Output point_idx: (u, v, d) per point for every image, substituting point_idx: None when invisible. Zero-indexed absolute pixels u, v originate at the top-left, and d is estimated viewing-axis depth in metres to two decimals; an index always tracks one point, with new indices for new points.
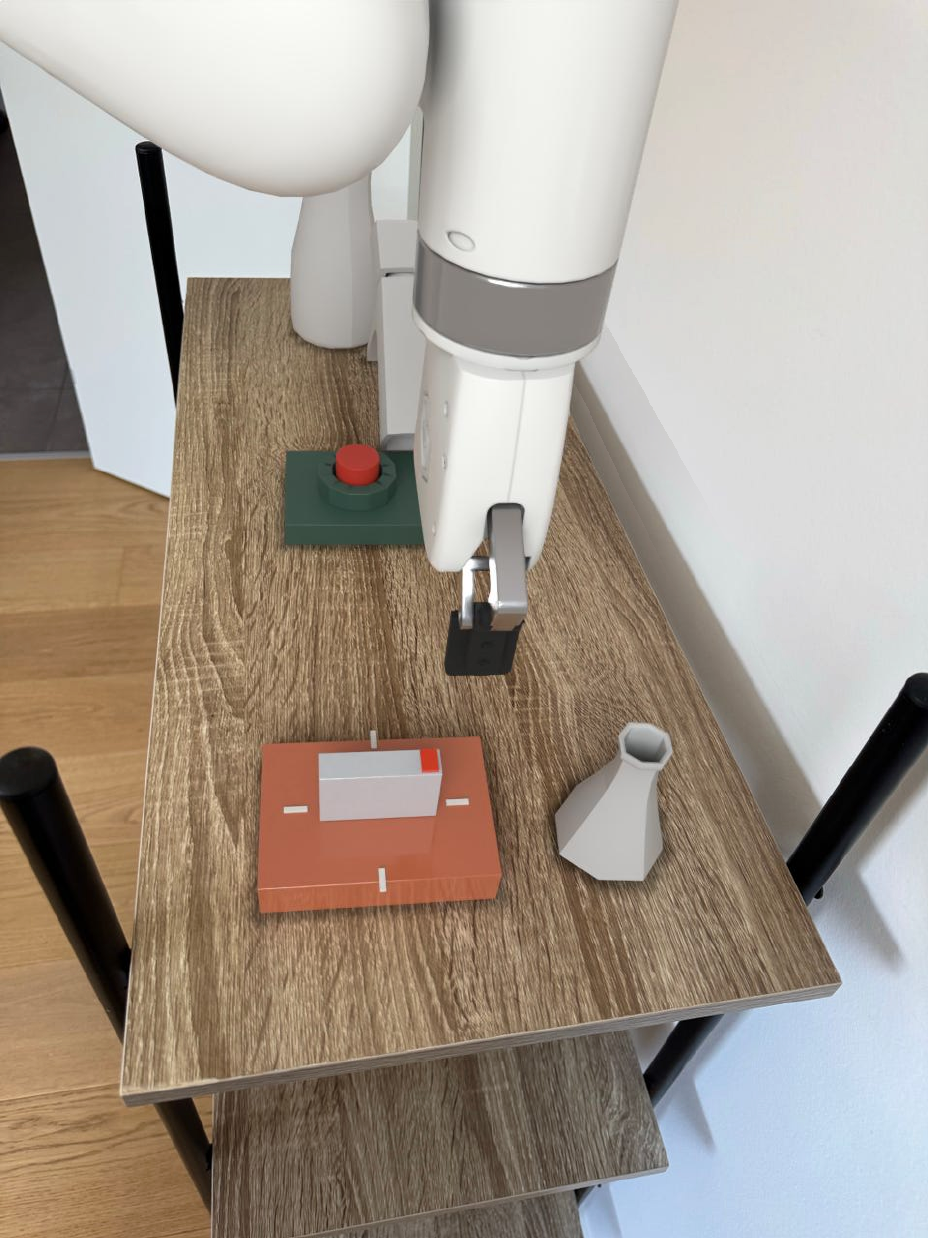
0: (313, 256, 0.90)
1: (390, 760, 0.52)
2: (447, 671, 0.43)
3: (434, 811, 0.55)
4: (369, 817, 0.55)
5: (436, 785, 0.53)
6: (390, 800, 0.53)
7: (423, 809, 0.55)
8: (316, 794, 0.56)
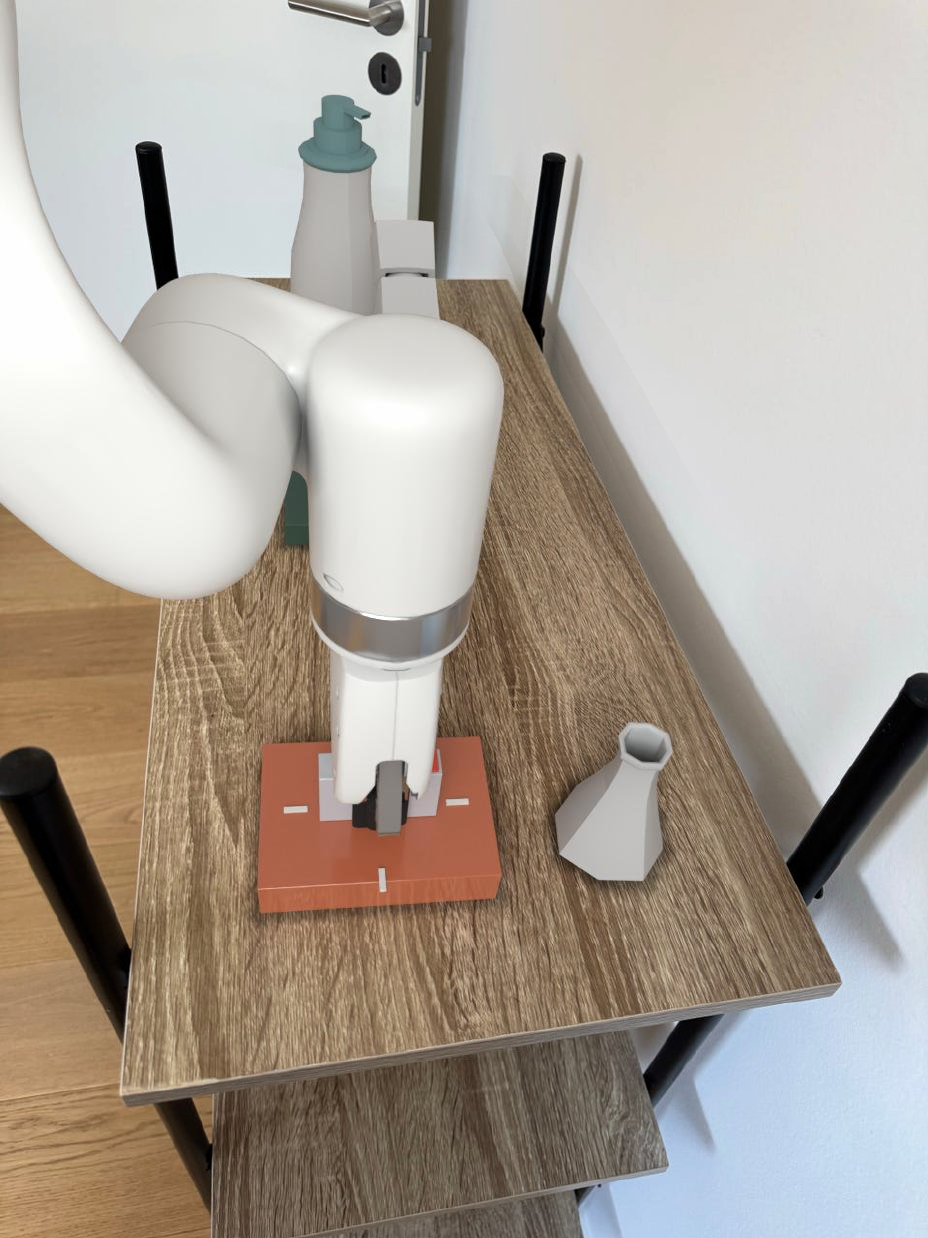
0: (313, 256, 0.90)
1: None
2: (354, 825, 0.54)
3: (434, 811, 0.55)
4: None
5: (436, 785, 0.53)
6: None
7: (423, 809, 0.55)
8: (316, 794, 0.56)
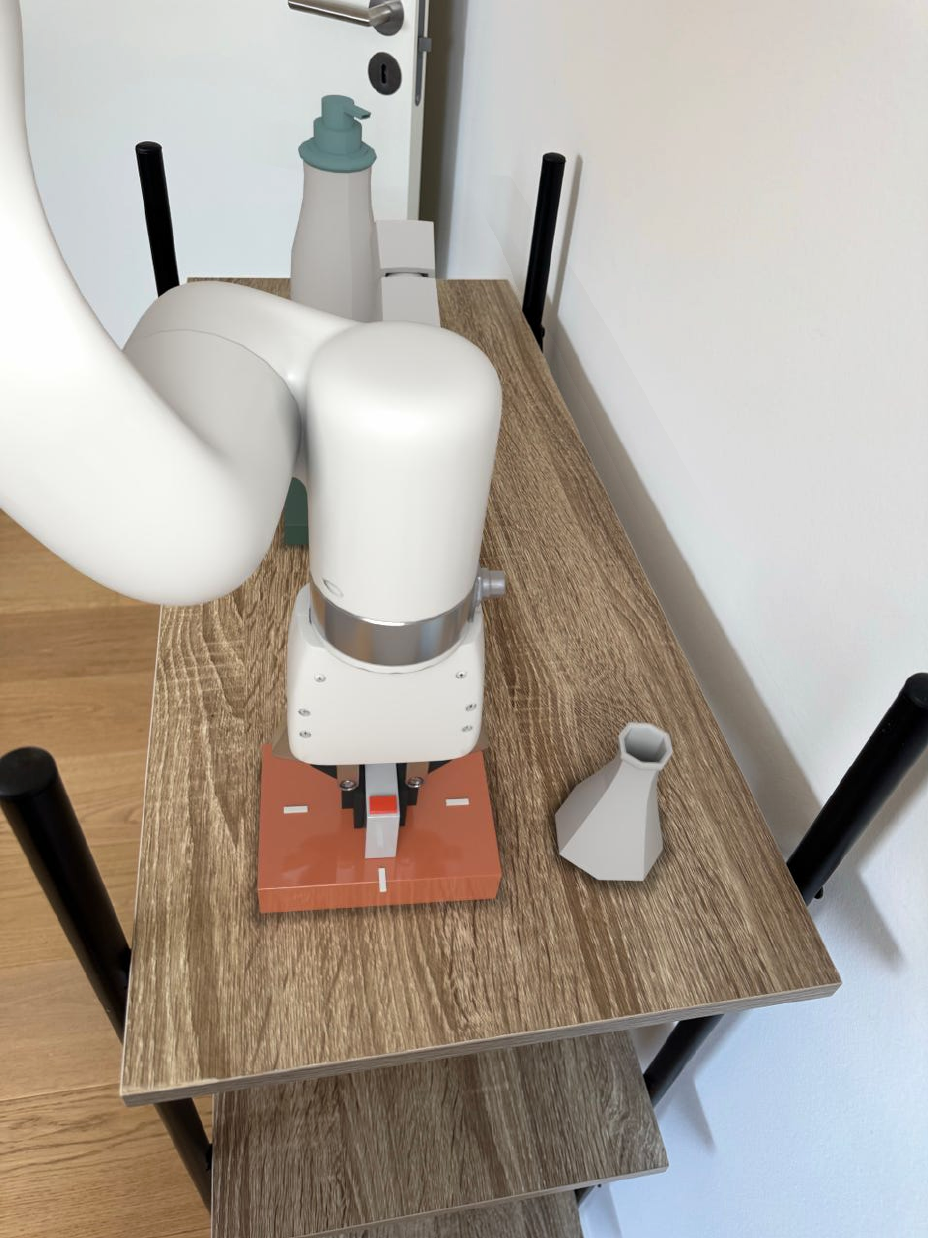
0: (313, 256, 0.90)
1: (384, 772, 0.52)
2: None
3: None
4: None
5: (366, 825, 0.51)
6: None
7: (364, 839, 0.53)
8: (316, 794, 0.56)
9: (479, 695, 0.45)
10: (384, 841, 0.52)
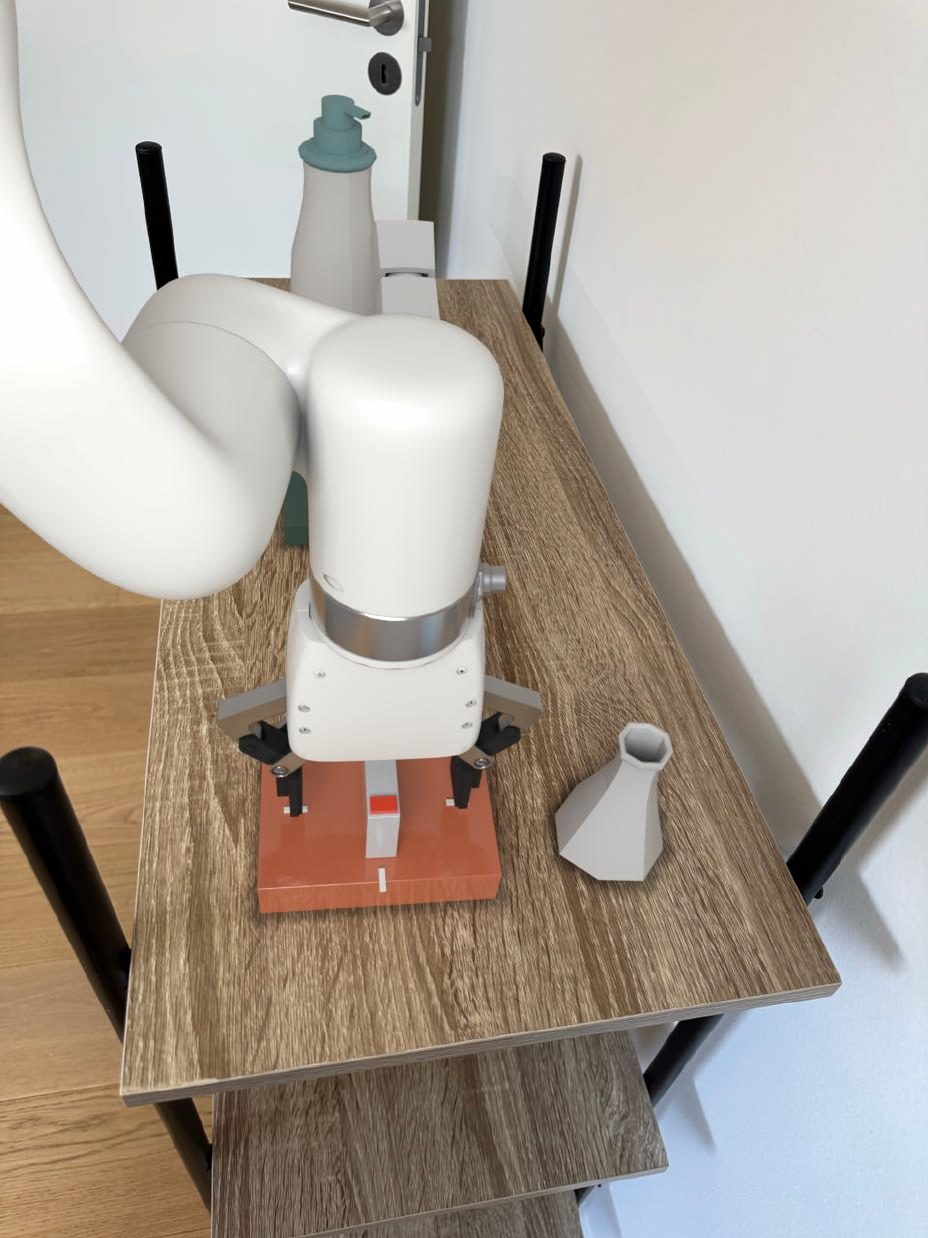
0: (313, 256, 0.90)
1: (385, 771, 0.52)
2: None
3: (365, 851, 0.53)
4: (362, 797, 0.55)
5: (366, 825, 0.51)
6: None
7: (365, 839, 0.53)
8: (316, 794, 0.56)
9: (479, 691, 0.45)
10: (385, 841, 0.52)
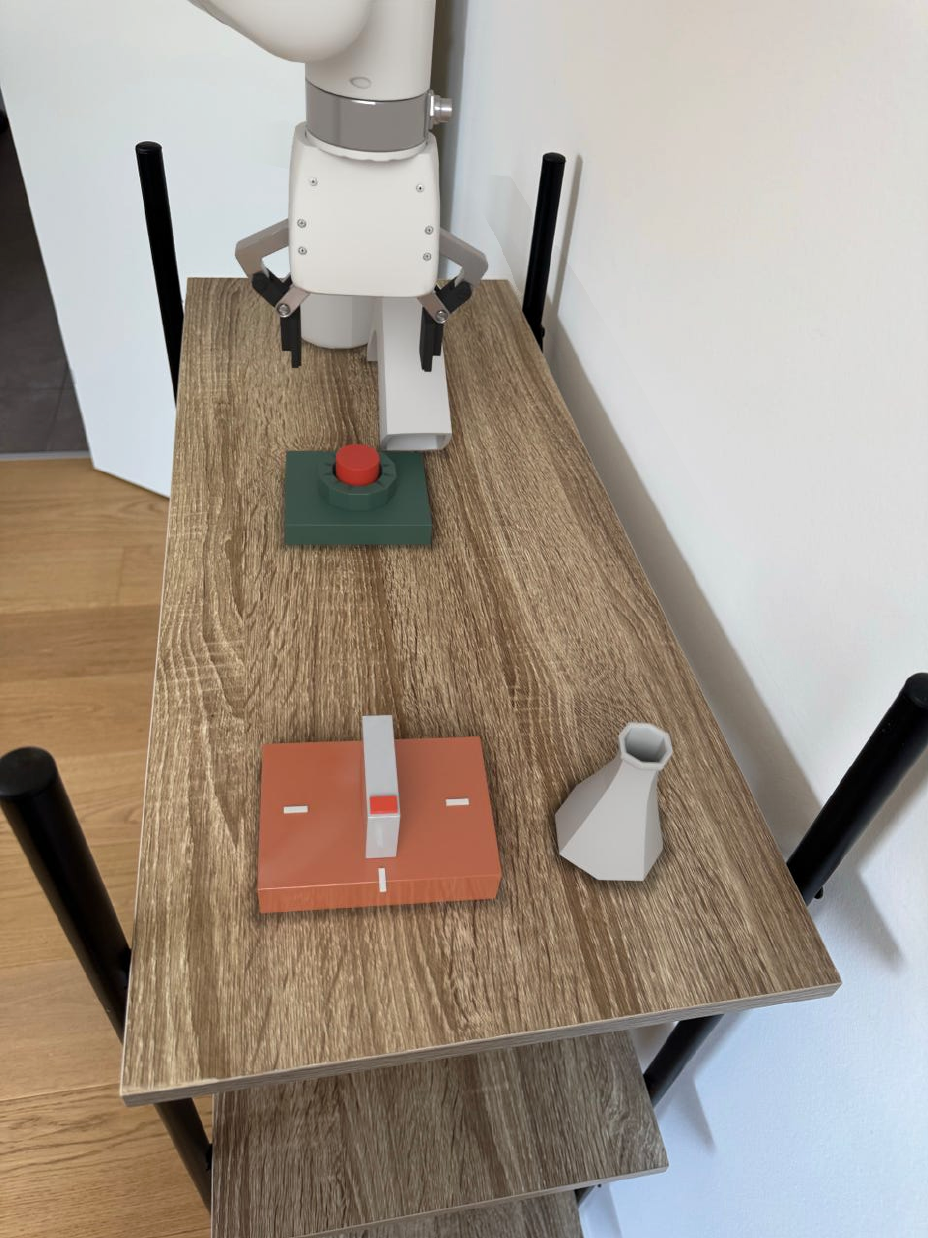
0: None
1: (385, 771, 0.52)
2: None
3: (365, 851, 0.53)
4: (362, 797, 0.55)
5: (366, 825, 0.51)
6: None
7: (365, 839, 0.53)
8: (316, 794, 0.56)
9: (435, 217, 0.59)
10: (385, 841, 0.52)
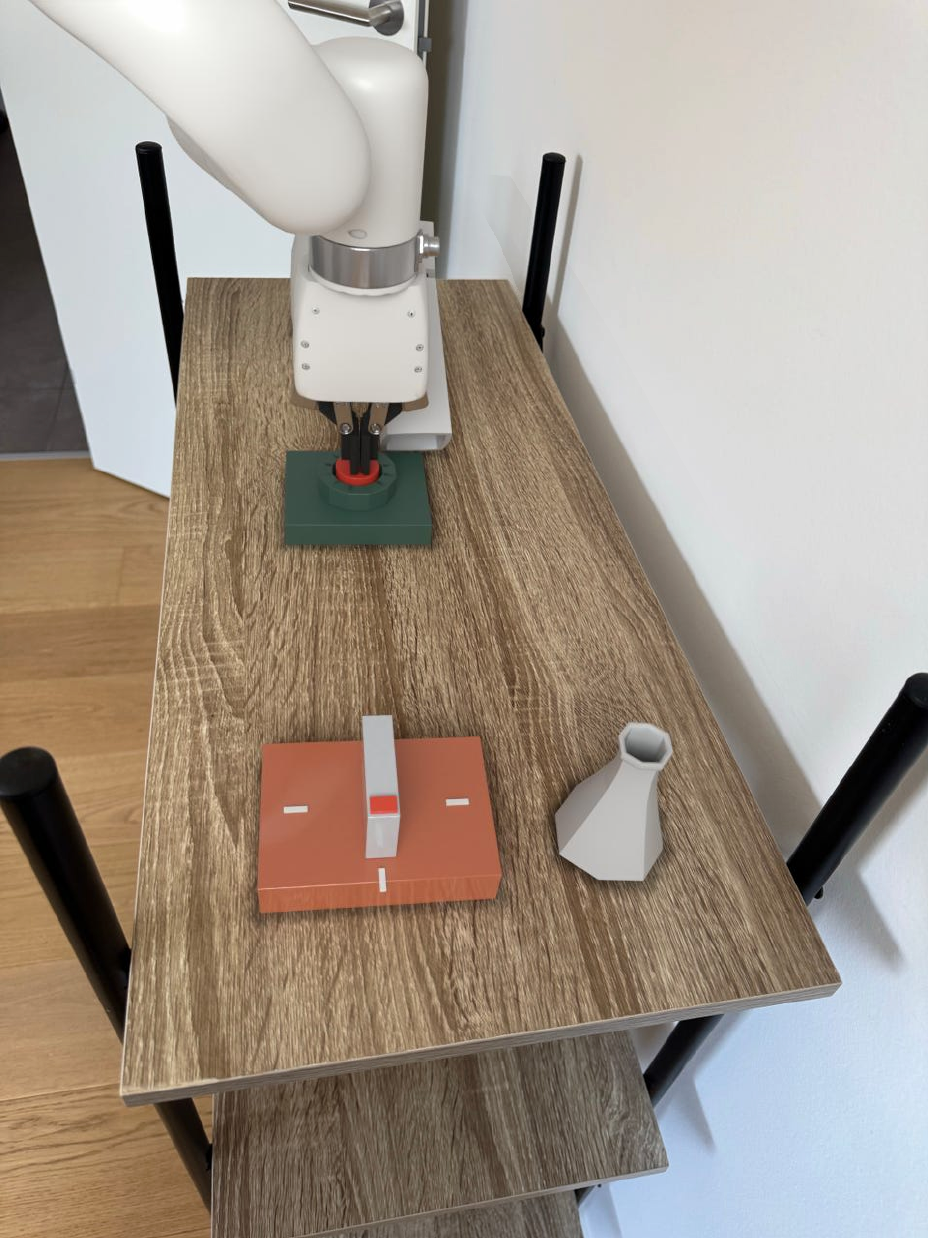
0: None
1: (385, 771, 0.52)
2: None
3: (365, 851, 0.53)
4: (362, 797, 0.55)
5: (366, 825, 0.51)
6: None
7: (365, 839, 0.53)
8: (316, 794, 0.56)
9: (425, 337, 0.66)
10: (385, 841, 0.52)
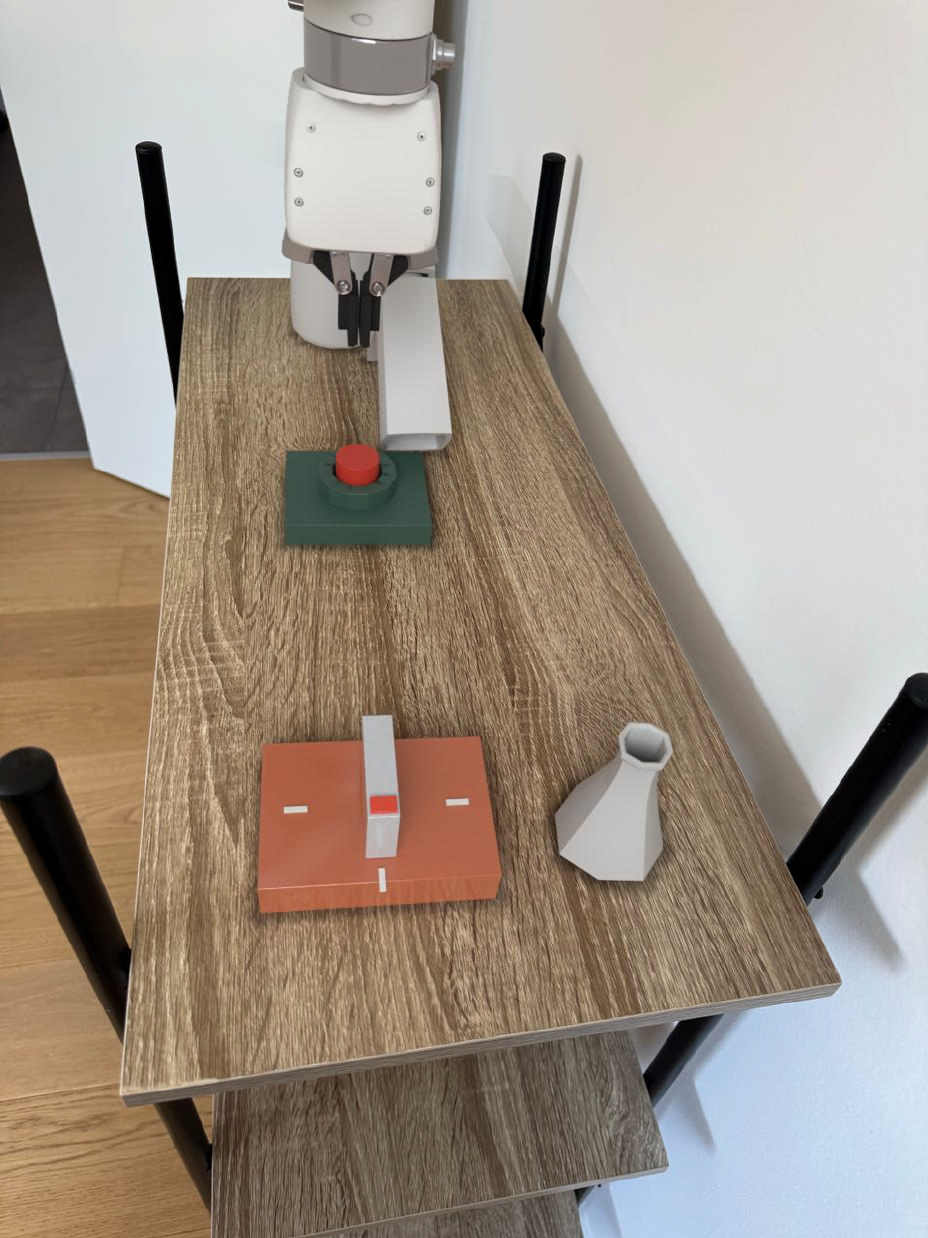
0: None
1: (385, 771, 0.52)
2: None
3: (365, 851, 0.53)
4: (362, 797, 0.55)
5: (366, 825, 0.51)
6: None
7: (365, 839, 0.53)
8: (316, 794, 0.56)
9: (436, 169, 0.58)
10: (385, 841, 0.52)
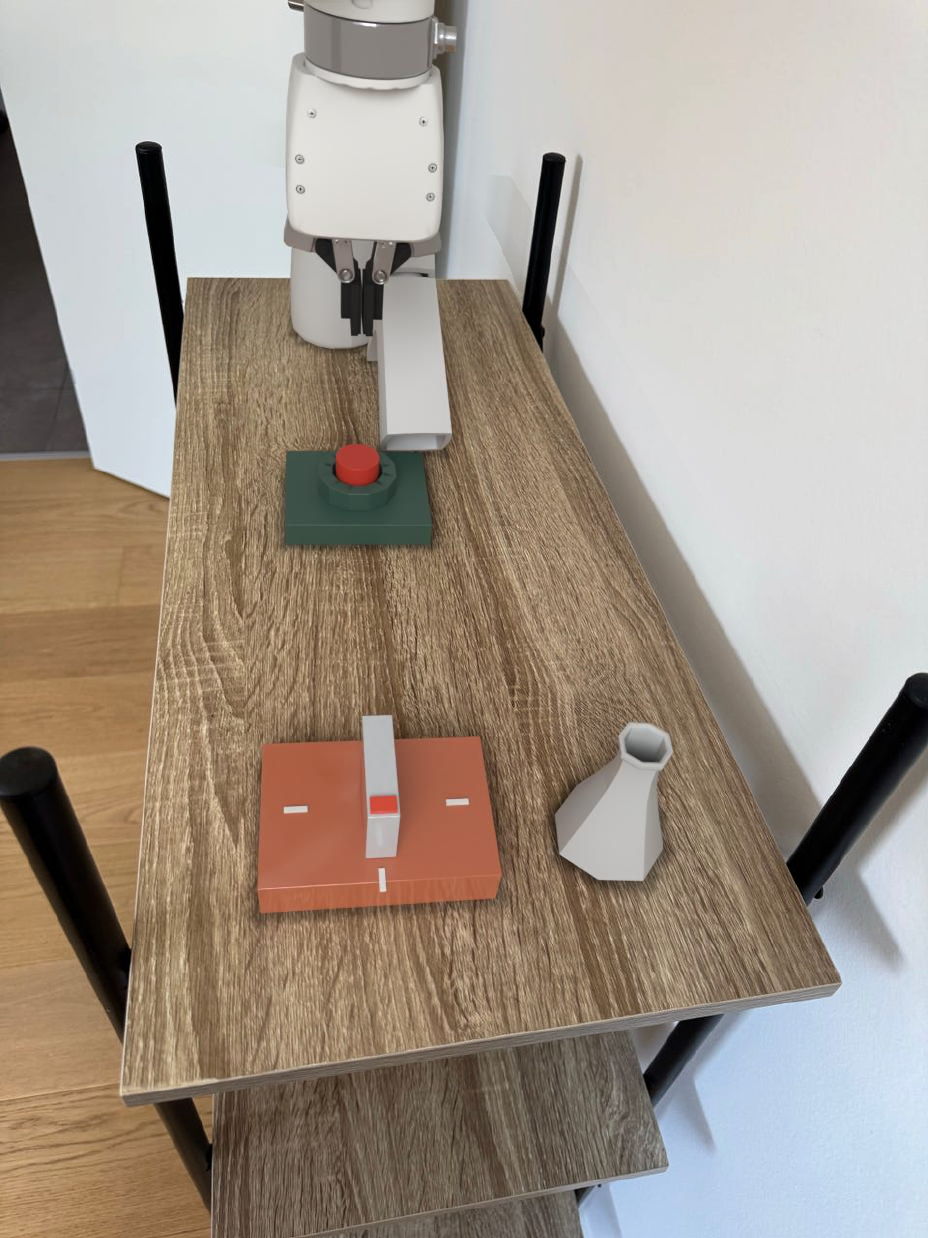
0: (313, 256, 0.90)
1: (385, 771, 0.52)
2: None
3: (365, 851, 0.53)
4: (362, 797, 0.55)
5: (366, 825, 0.51)
6: None
7: (365, 839, 0.53)
8: (316, 794, 0.56)
9: (439, 154, 0.57)
10: (385, 841, 0.52)
